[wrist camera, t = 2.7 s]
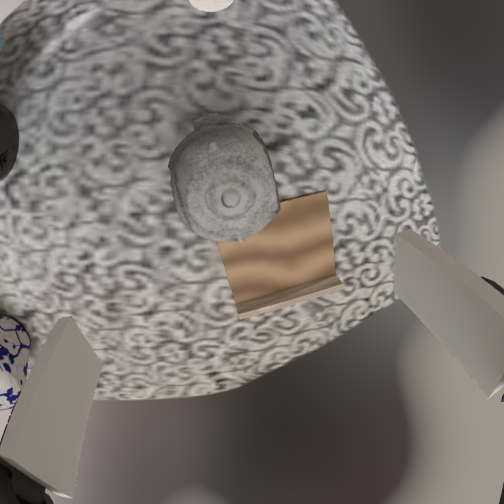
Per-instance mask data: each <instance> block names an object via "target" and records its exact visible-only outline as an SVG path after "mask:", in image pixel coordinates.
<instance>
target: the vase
mask: <svg viewBox="0 0 504 504" xmlns="http://www.w3.org/2000/svg"><path fill="white" fill-rule="evenodd" d="M30 343H31V341H30V337H29V335H28V333H27V331H26V330H25V328H24V327H23V326H22V325H21V324H20V323H19V322H18V321H17V320H16V319H14V318H12V317H10V316H7V315H3V316H1V317H0V410H5V409H11V408H13V407H14V404H15V402H16V401H17V399H18V398H19V396H20V393H21V391H22V389H23V387H24V385H25V382H26V377H27V367H28V358H29V350H30Z"/></svg>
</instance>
